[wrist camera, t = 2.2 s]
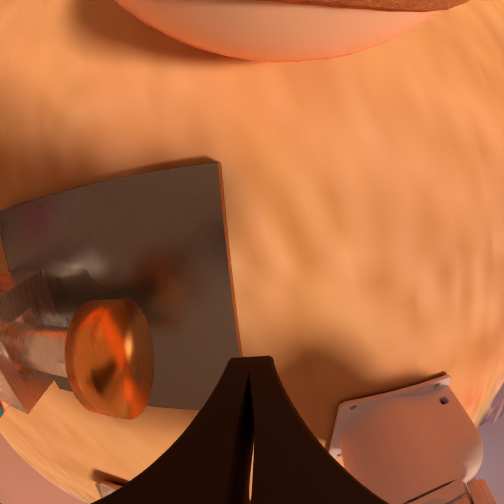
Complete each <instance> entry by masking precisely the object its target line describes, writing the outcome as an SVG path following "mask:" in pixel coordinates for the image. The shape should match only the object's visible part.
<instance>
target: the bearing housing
mask: <svg viewBox="0 0 504 504" xmlns="http://www.w3.org/2000/svg"><path fill="white" fill-rule="evenodd" d="M0 234H1V239H2V243H3V248H4V252H5V256H6V260H7V264H8V268H9V271H8V272H7V273H5V274H3V275H1V276H0V332H1V331H2V330H3V329H4V328H6V327H7V326H8V325H9V324H11V323H12V322H13V321H19V322H26V323H33V324H41V325H49V326H58V327H68V328H69V325H70V323H71V321H72V319H73V317H74V315H75V313H76V312H77V310H78V309H79V308H80V307H81V306H82V305H83V304H85V303H86V302H88V301H91V300H131V301H133V302H134V303H135V304H137V305H138V306H139V308H140V309H141V310H142V312H143V313H144V315H145V317H146V320H147V322H148V325H149V328H150V332H151V336H152V341H153V348H154V380H153V386H152V391H151V395H150V398H149V401H148V403H147V405H146V406H155V407H165V408H176V409H192V410H201V409H202V407H203V406H204V404H205V403H206V401H207V400H208V398H209V397H210V395H211V393H212V392H213V390H214V389H215V387H216V385H217V383H218V382H219V380H220V378H221V376H222V374H223V372H224V370H225V368H226V366H227V363H228V361H229V360H230V359H231V358H238V357H242V350H241V342H240V334H239V327H238V319H237V310H236V302H235V294H234V285H233V276H232V268H231V259H230V249H229V240H228V231H227V221H226V211H225V201H224V191H223V180H222V169H221V163H218V162H217V163H209V164H200V165H193V166H185V167H178V168H172V169H165V170H159V171H153V172H147V173H142V174H136V175H131V176H126V177H121V178H116V179H111V180H107V181H102V182H98V183H93V184H89V185H85V186H81V187H77V188H73V189H69V190H65V191H62V192H58V193H54V194H51V195H47V196H44V197H41V198H37V199H34V200H31V201H28V202H24V203H21V204H18V205H15V206H12V207H9V208H7V209H4V210H1V211H0ZM54 380H55V381H56V383H57V385H58V387H59V388H60V389H64V390H67V391H71V392H73V391H72V389H71V386H70V383H69V381H68V378H66V377H62V376H57V375H53V374H50V373H46V372H42V371H39V370H35V369H32V368H28V367H25V366H22V365H19V364H16V363H13V362H12V361H11V359H10V357H9V356H8V354H7V352H6V350H5V347H4V345H3V343H2V341H1V339H0V400H1V401H3V402H5V403H7V404H9V405H11V406H12V407H14V408H16V409H18V410H21V411H23V412H25V413H27V414H29V413H30V411H31V410H32V409H33V407H34V406H35V404H36V403H37V402H38V400H39V399H40V398H41V396H42V395H43V394H44V392H45V391H46V390H47V389H48V387H49V386H50V385H51V383H52V382H53V381H54Z"/></svg>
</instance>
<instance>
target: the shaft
mask: <svg viewBox="0 0 504 504" xmlns="http://www.w3.org/2000/svg"><path fill="white" fill-rule="evenodd" d="M0 339H1V341H2V343H3V345H4V347H5V350H6V352H7V354H8V356H9V357H10V359H11V361H12V362H13V363H16V364H19V365H22V366H25V367H28V368H32V369H35V370H39V371H42V372H46V373H50V374H53V375H57V376H62V377H66V378H68V381H69V383H70V386H71V389H72V391H73V393H74V395H75V396H76V398H77V399H78V401H79V402H80V403H81V404H82V405H83V406H84V407H85V408H86V409H88V410H90V411H92V412H95V413H98V414H103V415H107V416H112V417H117V418H122V419H134V418H136V417H137V416H139V415H140V414H141V413H142V412H143V410H144V409H145V407H146V405H147V403H148V401H149V398H150V395H151V391H152V386H153V380H154V348H153V341H152V336H151V332H150V328H149V325H148V322H147V320H146V317H145V315H144V313H143V312H142V310H141V309H140V308H139V306H138V305H137V304H135V303H134V302H133V301H131V300H91V301H88V302H86V303H85V304H83V305H82V306H81V307H80V308H79V309H78V310H77V312H76V313H75V315H74V317H73V319H72V321H71V323H70V325H69V328H68V327H58V326H49V325H41V324H33V323H26V322H19V321H13V322H12V323H11V324H9V325H8V326H7V327H6V328H4V329H3V330H2V331H1V332H0Z"/></svg>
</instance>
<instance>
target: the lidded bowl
mask: <svg viewBox="0 0 504 504" xmlns="http://www.w3.org/2000/svg"><path fill="white" fill-rule="evenodd" d="M114 1H115V2H116V3H118V4H119V5H120V6H122V7H123V8H124V9H125V10H127V11H128V12H129V13H131V14H132V15H134V16H135V17H137V18H138V19H140V20H141V21H142V22H144V23H145V24H147V25H149V26H151V27H153V28H155V29H156V30H158V31H160V32H162V33H164V34H166V35H168V36H170V37H172V38H173V39H175V40H177V41H179V42H182V43H185V44H188V45H190V46H193V47H195V48H198V49H201V50H205V51H209V52H213V53H217V54H220V55H224V56H229V57H235V58H241V59H247V60H253V61H267V62H305V61H314V60H326V59H332V58H337V57H342V56H347V55H352V54H354V53H357V52H360V51H363V50H366V49H369V48H372V47H375V46H378V45H381V44H384V43H387V42H389V41H391V40H393V39H395V38H397V37H399V36H401V35H403V34H405V33H407V32H409V31H411V30H413V29H415V28H417V27H419V26H420V25H422V24H423V23H425V22H427V21H428V20H430V19H432V18H433V17H435V16H437V15H438V14H439V13H441V12H442V11H444V10H447V9H450V8H452V7H455V6H458V5H460V4H463V3H465V2H468V1H469V0H114Z"/></svg>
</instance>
